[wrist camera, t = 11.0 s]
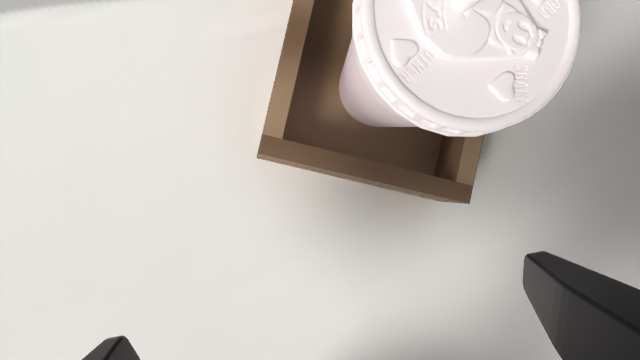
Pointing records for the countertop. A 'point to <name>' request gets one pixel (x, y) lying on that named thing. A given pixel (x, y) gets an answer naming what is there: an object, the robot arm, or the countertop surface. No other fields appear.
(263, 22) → the countertop surface
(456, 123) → the smoothie
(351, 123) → the socket block
